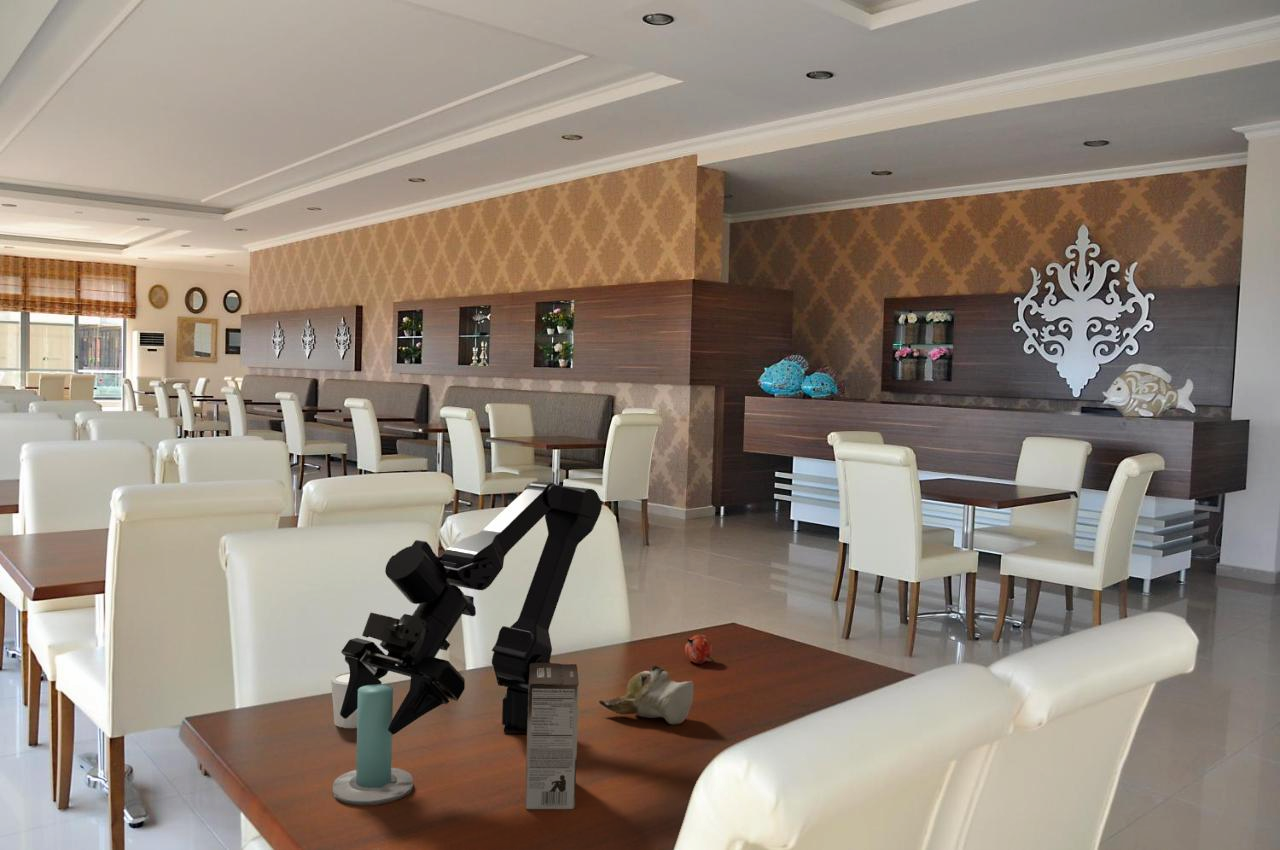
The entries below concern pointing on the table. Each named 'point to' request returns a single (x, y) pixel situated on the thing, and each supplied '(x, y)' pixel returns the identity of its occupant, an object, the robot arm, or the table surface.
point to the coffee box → (552, 736)
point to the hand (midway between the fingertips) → (366, 724)
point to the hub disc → (372, 789)
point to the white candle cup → (341, 701)
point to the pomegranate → (698, 648)
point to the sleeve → (374, 735)
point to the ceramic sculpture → (654, 697)
